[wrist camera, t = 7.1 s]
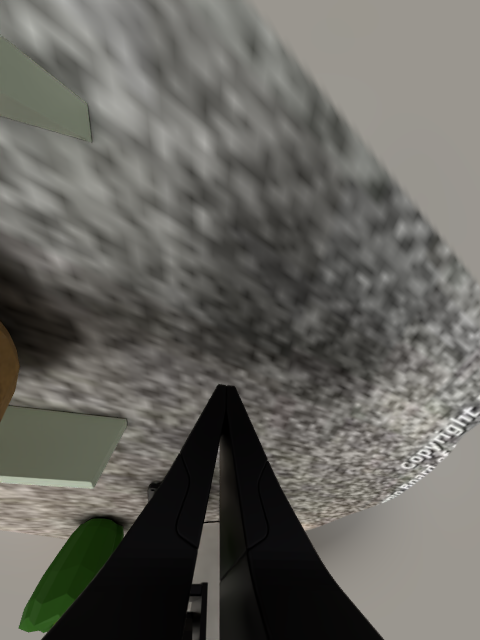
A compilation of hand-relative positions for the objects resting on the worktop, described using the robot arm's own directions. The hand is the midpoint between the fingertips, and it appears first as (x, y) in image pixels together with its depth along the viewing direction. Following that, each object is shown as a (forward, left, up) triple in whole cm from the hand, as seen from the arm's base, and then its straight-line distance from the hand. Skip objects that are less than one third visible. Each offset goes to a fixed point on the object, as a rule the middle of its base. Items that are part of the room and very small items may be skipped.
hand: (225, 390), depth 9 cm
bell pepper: (-35, +12, -3) cm, 37 cm away
